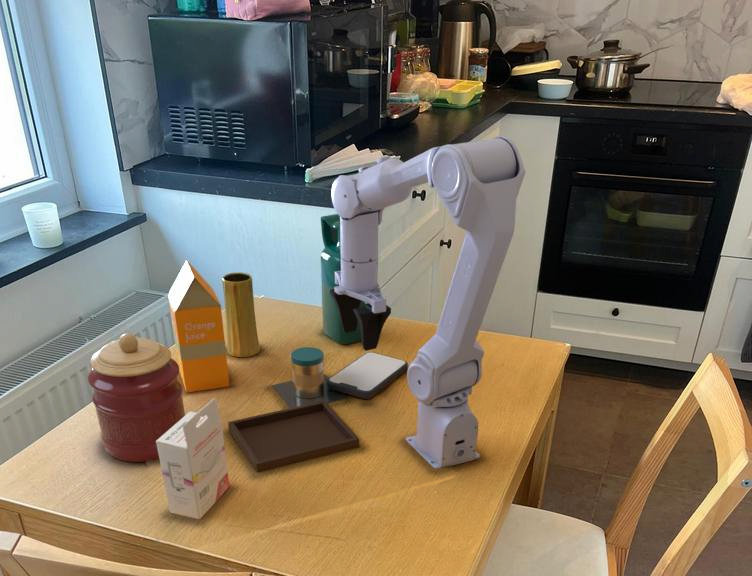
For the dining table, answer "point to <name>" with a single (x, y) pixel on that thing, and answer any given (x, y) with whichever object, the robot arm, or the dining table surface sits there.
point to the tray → (292, 435)
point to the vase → (240, 315)
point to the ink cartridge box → (194, 462)
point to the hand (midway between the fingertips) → (359, 339)
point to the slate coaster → (293, 401)
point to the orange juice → (198, 332)
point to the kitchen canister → (135, 396)
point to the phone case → (367, 375)
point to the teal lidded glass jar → (308, 372)
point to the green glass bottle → (333, 282)
